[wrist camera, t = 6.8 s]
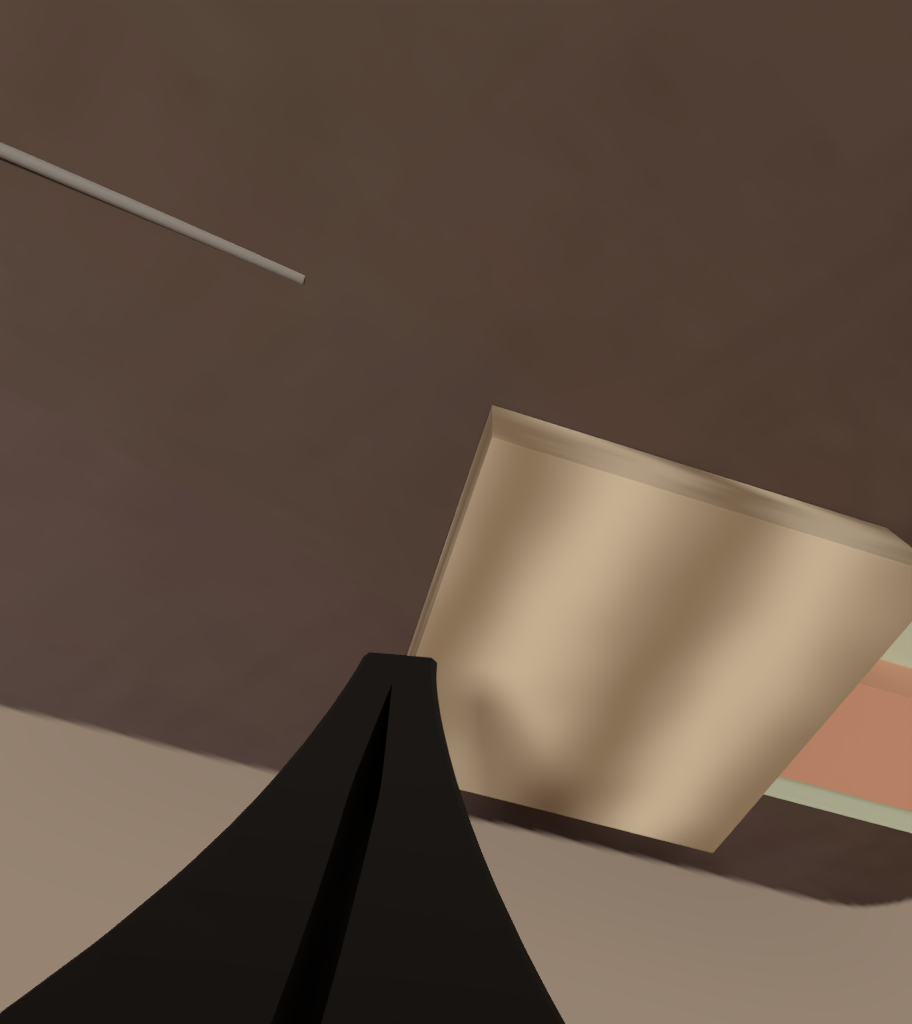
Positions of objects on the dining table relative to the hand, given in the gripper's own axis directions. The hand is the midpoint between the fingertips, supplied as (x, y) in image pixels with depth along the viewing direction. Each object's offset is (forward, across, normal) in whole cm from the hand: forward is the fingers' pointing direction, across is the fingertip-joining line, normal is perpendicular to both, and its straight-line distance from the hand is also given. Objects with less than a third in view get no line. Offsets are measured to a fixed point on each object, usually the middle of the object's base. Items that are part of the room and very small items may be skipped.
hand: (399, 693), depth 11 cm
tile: (+9, -18, +8) cm, 22 cm away
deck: (+9, -7, +5) cm, 13 cm away
